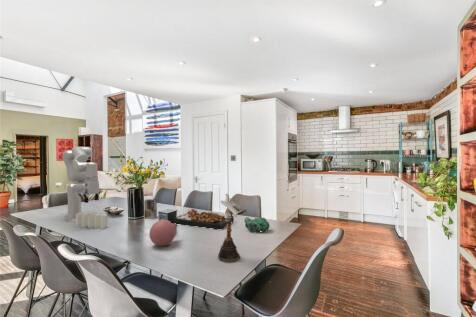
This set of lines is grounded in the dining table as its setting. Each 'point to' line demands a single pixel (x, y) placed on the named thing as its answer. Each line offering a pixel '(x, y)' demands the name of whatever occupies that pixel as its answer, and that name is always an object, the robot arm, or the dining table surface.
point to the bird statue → (228, 248)
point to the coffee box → (150, 209)
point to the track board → (94, 228)
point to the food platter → (202, 219)
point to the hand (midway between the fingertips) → (91, 201)
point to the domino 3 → (91, 220)
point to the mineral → (256, 224)
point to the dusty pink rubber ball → (162, 232)
